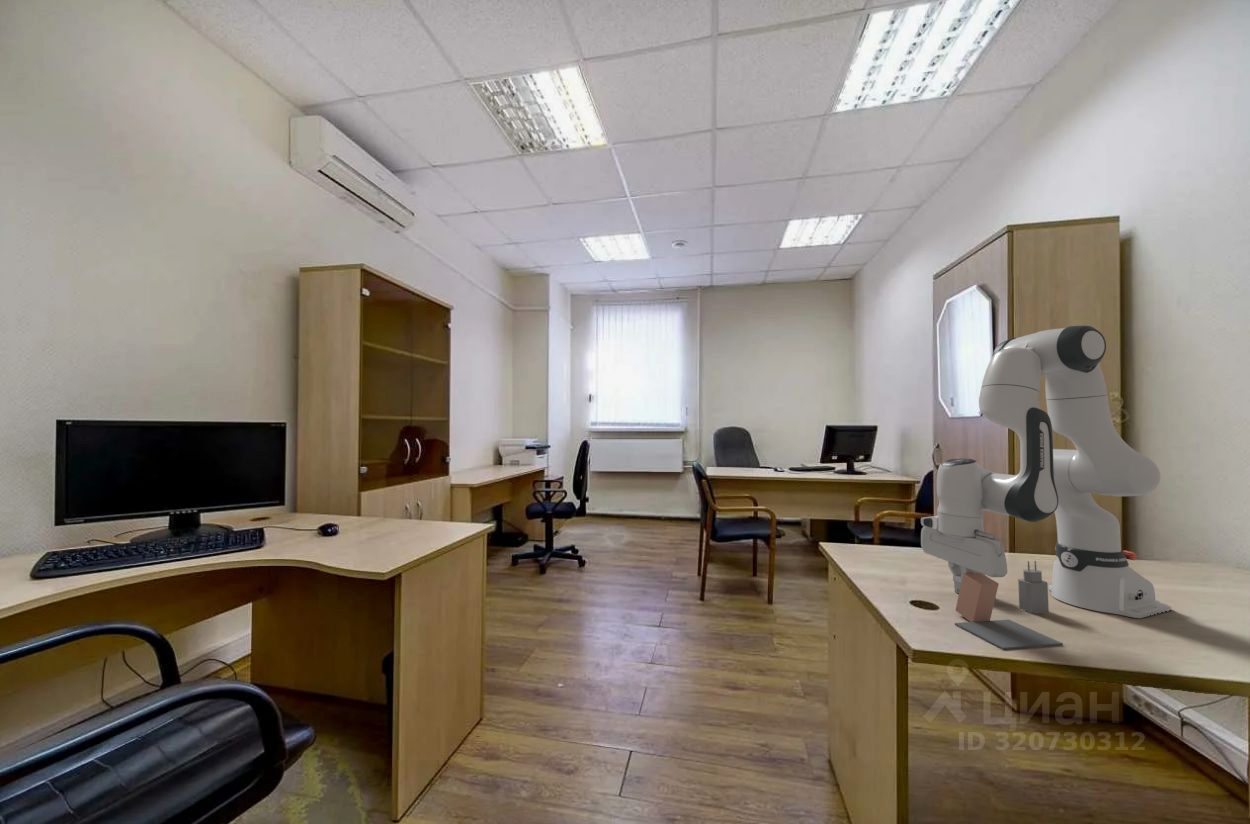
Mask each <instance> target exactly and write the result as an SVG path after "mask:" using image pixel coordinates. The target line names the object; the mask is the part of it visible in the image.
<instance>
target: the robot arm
mask: <svg viewBox="0 0 1250 824" xmlns="http://www.w3.org/2000/svg"><path fill="white" fill-rule="evenodd" d="M1106 349H1107V343H1106V338H1105V336H1104V335H1103V334H1102V333H1101V331H1099V330H1097V328H1095V327H1093V326H1092V325H1091V326H1089V325H1071V326H1067V327H1061V328H1053V329H1045V330H1041V331H1037V332H1035V333H1030V334H1025V335H1023V336H1019V337H1012V338H1009V339H1006V340H1004V341H1002V342H1000V343H999V344H998V345H996V347H995V349H994V350H993V352H992V355H991V358H990V361H989V363H988V365H987V367H986V369H985V373H984V376H983V379H982V383H981V388H980V391H979V397H978V407H979V410H980V412H981V414H982V415H983V416H984V417H985V418H986V419H988V420H989V421H990V422H992V423H994V424H997V425H999V426H1001V427H1004V428H1006V429H1010V430H1011V431H1013V432H1014V433H1015V434H1016V435H1017V436H1018V438H1019V443H1020V444H1019V449H1020V450H1019V451H1020V452H1019V454H1020V455H1019V457H1020V470H1019V472H1018V473H1017V474H1006V473H998V472H993V471H991V470H988V469H986V468H985V467H982V466H981V465H980V464H979V463H978V460H977V459H972V458H950V459H945V460H944V461H942V462H940V463H939V466H938V468H937V469H938V470H937V474H936V496H937V499H938V506H937V509H936V510H937V511H936V512H937V513H936V515H934V516H927V517H926V516H925V517H921V518H920V524H921V526H922V528H921V529H920V530H921V531H920V546H921V549H922V551H923V553H925V554H926V555H930V556H932V557H934V558H936V559H937V558H938V559H941V560H943V561H945V562H947V563H948V567H949V570H950V572H951V573H952V580H953V582H954V581H955V582H957V583H960V584H961V582H962V578H963V573H974V571H976V572H979V573H982V574H984V575H985V576H987V577H989V578H990V577H991V578H1004V577H1006V575H1007V574H1008V564H1007V563H1008V562H1007V556H1006V553H1005V550H1004V543H1003V542H1002V541H1001V539H1000V538H998V536H997V535H995V534H993V533H988V532H985V531H984V513H983V511H986V512H991V513H994V514H1000V515H1005V516H1010V517H1013V518H1016V519H1020V520H1021V521H1022V520H1023V521H1026V522H1031V523H1037V522H1040V521H1042V520H1045V519H1047V518H1048V517H1050V516H1051V515H1053V514H1054V516H1055V523H1056V534H1057V541H1056V542H1055V546H1054V548H1055V549H1054V550H1055V556H1056V557H1057V559H1055V561H1054V562H1053V569H1052V580H1051V581H1052V582H1051V584H1049V585H1048V591H1049V590H1050V591H1051V592H1050V593H1051V596H1052V597H1053V598H1055V599H1056V600H1058V601H1061V602H1062V603H1063V602H1064V603H1065V604H1069V605H1072V606H1075V607H1078V608H1083V609H1088V610H1091V611H1096V612H1101V613H1108V614H1114V615H1120V616H1124V617H1128V618H1129V617H1130V618H1134V619H1142V618H1145V617H1150V615H1151V616H1154V614H1155V615H1158V614H1157V613H1159V614H1162V613H1161V612H1163V613H1166V612H1165V611H1167V612H1170V611H1169V610H1171V611H1172V606H1171V605H1169V604H1168V603H1165V602H1163V601H1160V600H1157V599H1156V591H1155V587H1154V585H1153V583H1152V582H1151V581H1150V580H1148V579H1147V578H1145V577H1144V576H1143V575H1141V574H1140V573H1139V572H1137V571H1136V570H1134V569H1133V568H1132V567H1130V566H1129V561H1128V560H1131V561H1136V560H1137V558H1138V554H1137V553H1136V552H1133V551H1128V550H1122V547H1121V546H1122V545H1121V542H1122V541H1121V524H1120V522H1119V519H1118V518H1117V517H1116V516H1115V515H1114V514H1113V513H1112V512H1110V511H1108V510H1106V509H1104V508H1102V507H1101V506H1100V505H1099V504H1098V503H1097V502H1096V501H1095V500H1094V497H1093V496H1092V494H1095V495H1103V496H1114V497H1140V496H1147V495H1149V494H1151V493H1152V492H1153V491H1155V490H1156V489H1157V488H1158V486H1159V484H1160V482H1161V473H1160V468H1158V466H1157V464H1155V462H1154V461H1153V460H1151V458H1149V457H1148V456H1146V455H1144V454H1141V453H1139V452H1138V450H1135V449H1133V448H1132V447H1131V446H1130V445H1129V444H1128V443H1126V441H1124V439H1122V438H1123V437H1121V435H1120V434H1119V433H1118V432H1117V430H1116V428H1115V425H1114V423H1113V419H1112V413H1111V409H1110V403H1109V396H1108V395H1109V394H1108V390H1107V389H1108V387H1107V384H1106V380H1105V377H1104V373H1103V371H1102V368H1101V366H1100V364H1099V363H1101V361H1102V359H1103V357H1104V356H1105V353H1106ZM1042 375H1043V376H1045V387H1044V388H1045V390H1044V391H1045V400H1046V402H1045V403H1046V411H1047V412H1046V411H1045V410H1043V409H1042V408H1041V405H1040V400H1039V399H1040V392H1041V386H1042V385H1041V384H1042ZM1053 431H1054V433H1056V434H1058V435H1061V436H1063V437H1066V438H1067V439H1068V440H1069V441H1070V442H1071V443H1072V444H1073V445H1074V447H1075V448H1076V449H1062V448H1054V438H1053V437H1054V436H1053ZM959 567H961V570H962V571H963V573H962V574H961V571H960V568H959Z"/></svg>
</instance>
